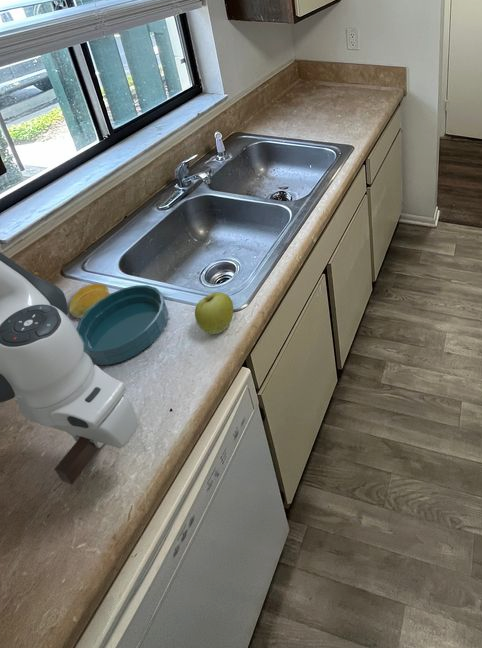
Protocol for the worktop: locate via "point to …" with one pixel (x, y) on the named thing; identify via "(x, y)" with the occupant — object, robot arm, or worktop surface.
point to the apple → (214, 312)
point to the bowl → (123, 324)
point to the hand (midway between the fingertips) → (92, 439)
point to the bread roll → (87, 299)
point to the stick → (76, 460)
